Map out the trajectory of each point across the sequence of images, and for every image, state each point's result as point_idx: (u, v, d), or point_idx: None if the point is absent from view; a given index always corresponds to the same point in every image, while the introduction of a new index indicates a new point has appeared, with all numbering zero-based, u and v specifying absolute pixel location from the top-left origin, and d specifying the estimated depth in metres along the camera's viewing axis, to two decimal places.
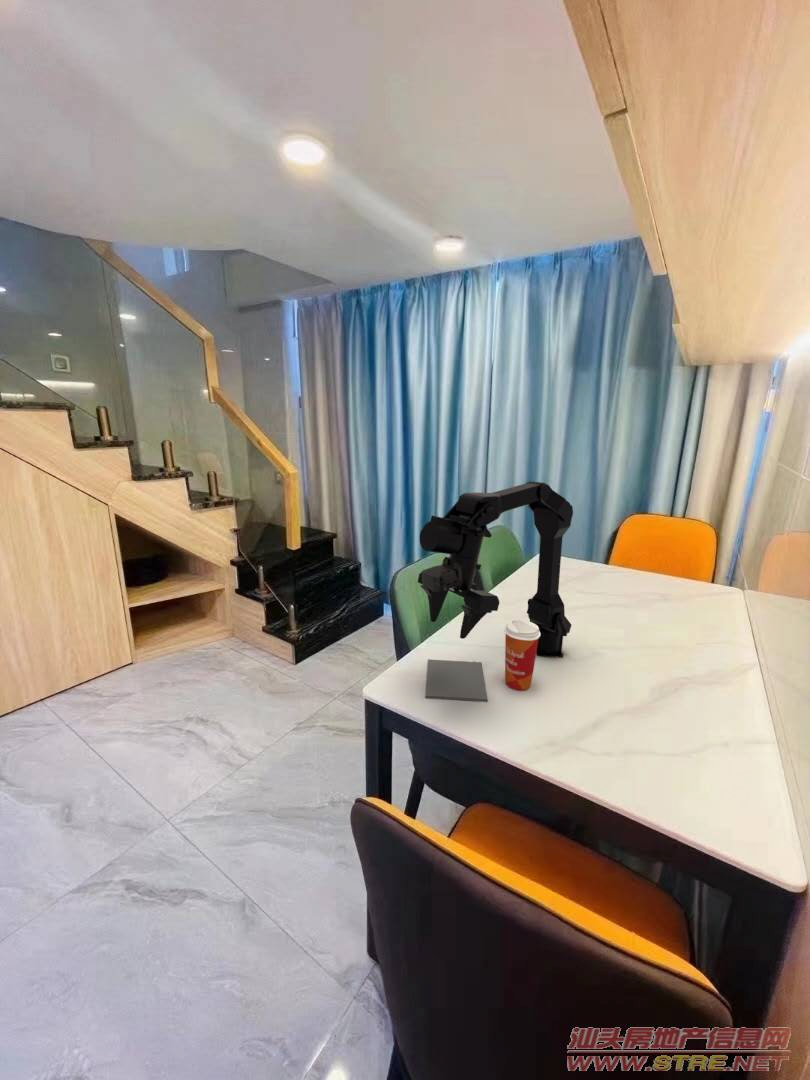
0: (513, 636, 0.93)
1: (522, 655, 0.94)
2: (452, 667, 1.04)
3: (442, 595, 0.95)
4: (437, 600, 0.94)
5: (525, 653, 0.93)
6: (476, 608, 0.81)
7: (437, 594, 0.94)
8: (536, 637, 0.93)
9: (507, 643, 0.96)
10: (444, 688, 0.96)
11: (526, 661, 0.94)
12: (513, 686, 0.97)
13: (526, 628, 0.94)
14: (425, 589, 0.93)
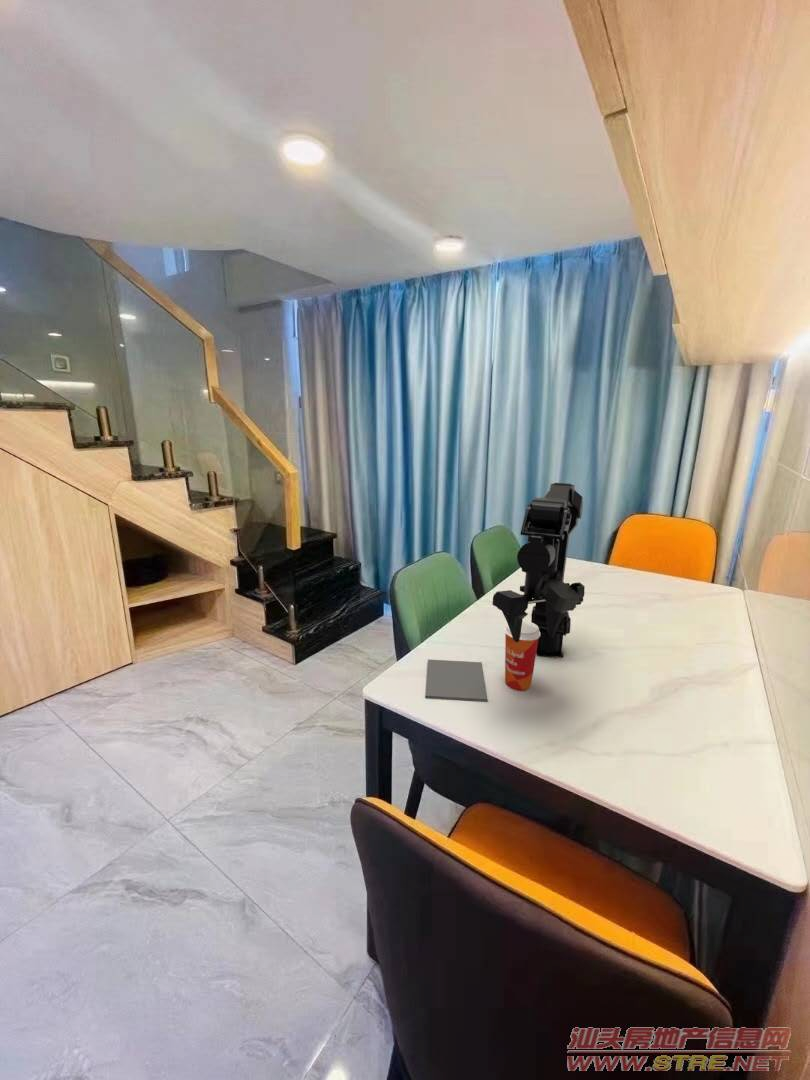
0: None
1: (522, 655, 0.94)
2: (452, 667, 1.04)
3: None
4: None
5: (525, 653, 0.93)
6: None
7: None
8: (536, 637, 0.93)
9: (507, 643, 0.96)
10: (444, 688, 0.96)
11: (526, 661, 0.94)
12: (513, 686, 0.97)
13: (526, 628, 0.94)
14: (522, 615, 0.83)
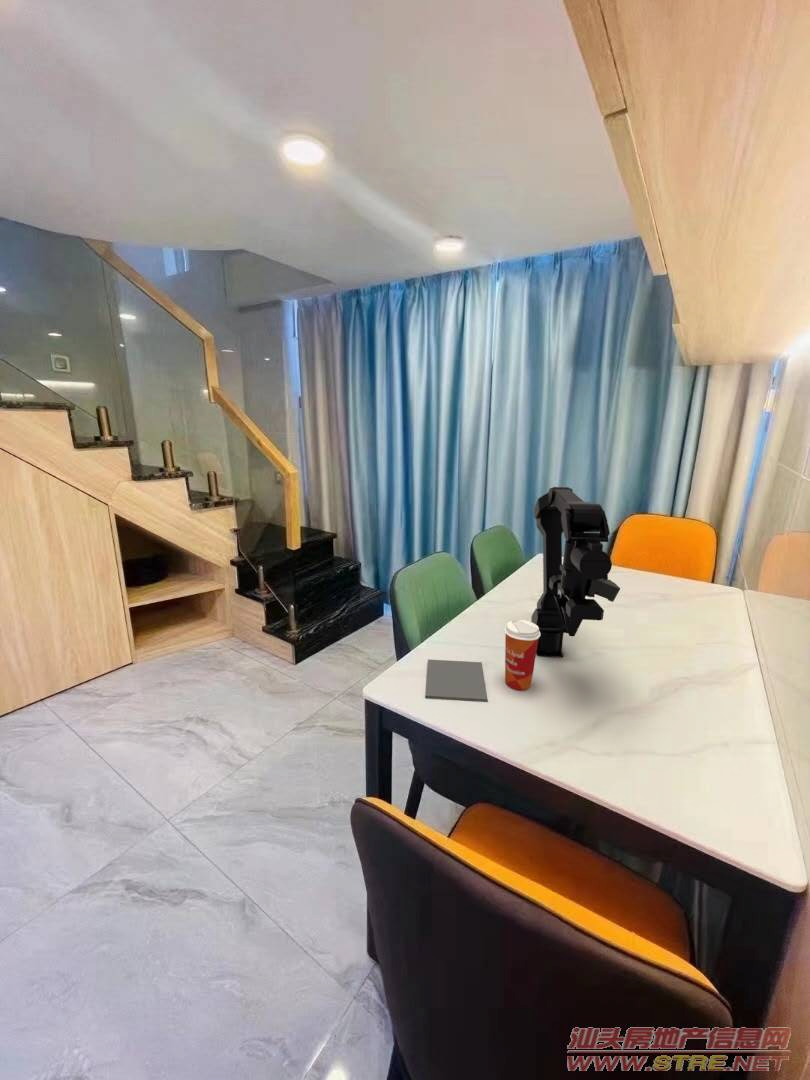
0: (513, 636, 0.93)
1: (522, 655, 0.94)
2: (452, 667, 1.04)
3: None
4: None
5: (525, 653, 0.93)
6: None
7: None
8: (536, 637, 0.93)
9: (507, 643, 0.96)
10: (444, 688, 0.96)
11: (526, 661, 0.94)
12: (513, 686, 0.97)
13: (526, 628, 0.94)
14: None
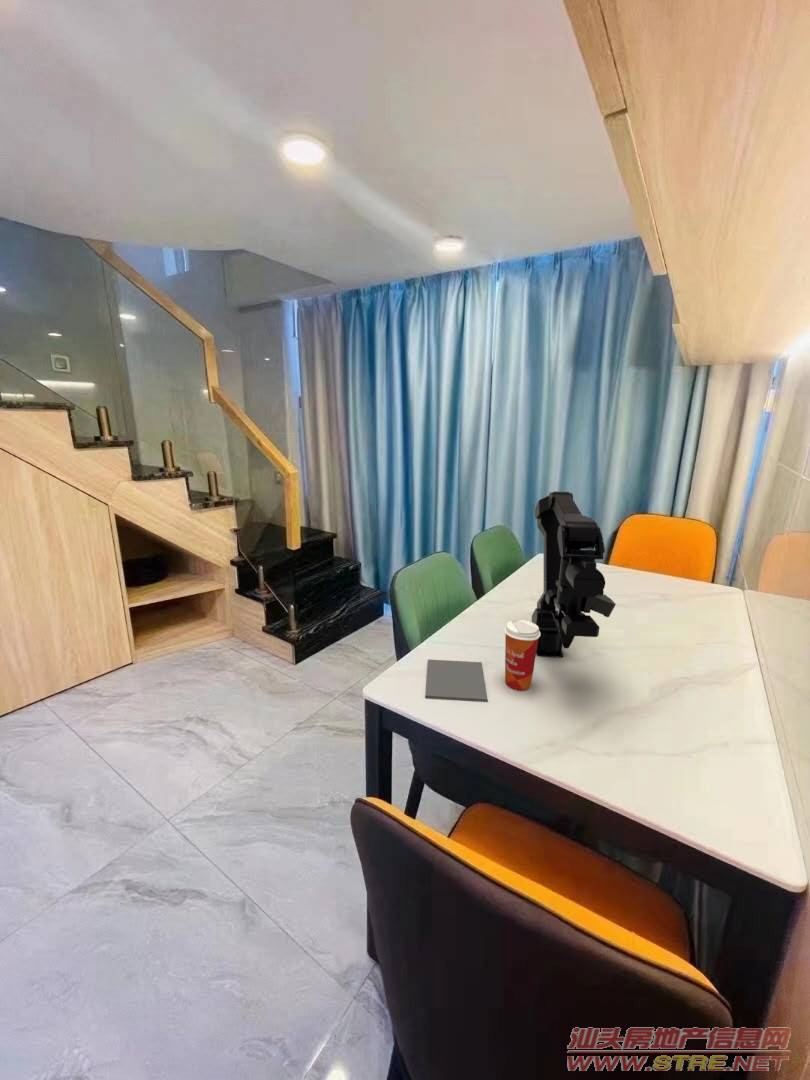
0: (513, 636, 0.93)
1: (522, 655, 0.94)
2: (452, 667, 1.04)
3: None
4: None
5: (525, 653, 0.93)
6: None
7: None
8: (536, 637, 0.93)
9: (507, 643, 0.96)
10: (444, 688, 0.96)
11: (526, 661, 0.94)
12: (513, 686, 0.97)
13: (526, 628, 0.94)
14: None
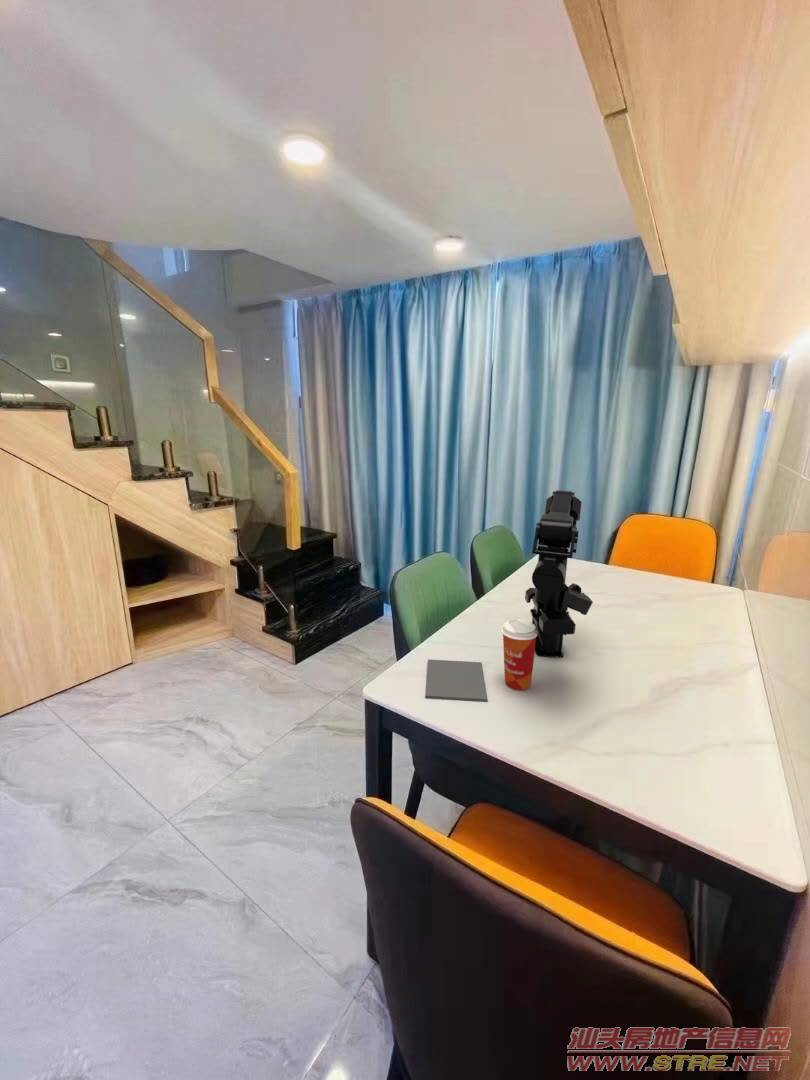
0: (510, 636, 0.93)
1: (520, 655, 0.94)
2: (452, 667, 1.04)
3: None
4: None
5: (522, 652, 0.93)
6: None
7: None
8: (533, 636, 0.93)
9: (505, 643, 0.96)
10: (444, 688, 0.96)
11: (524, 660, 0.94)
12: (513, 686, 0.97)
13: (523, 628, 0.94)
14: None
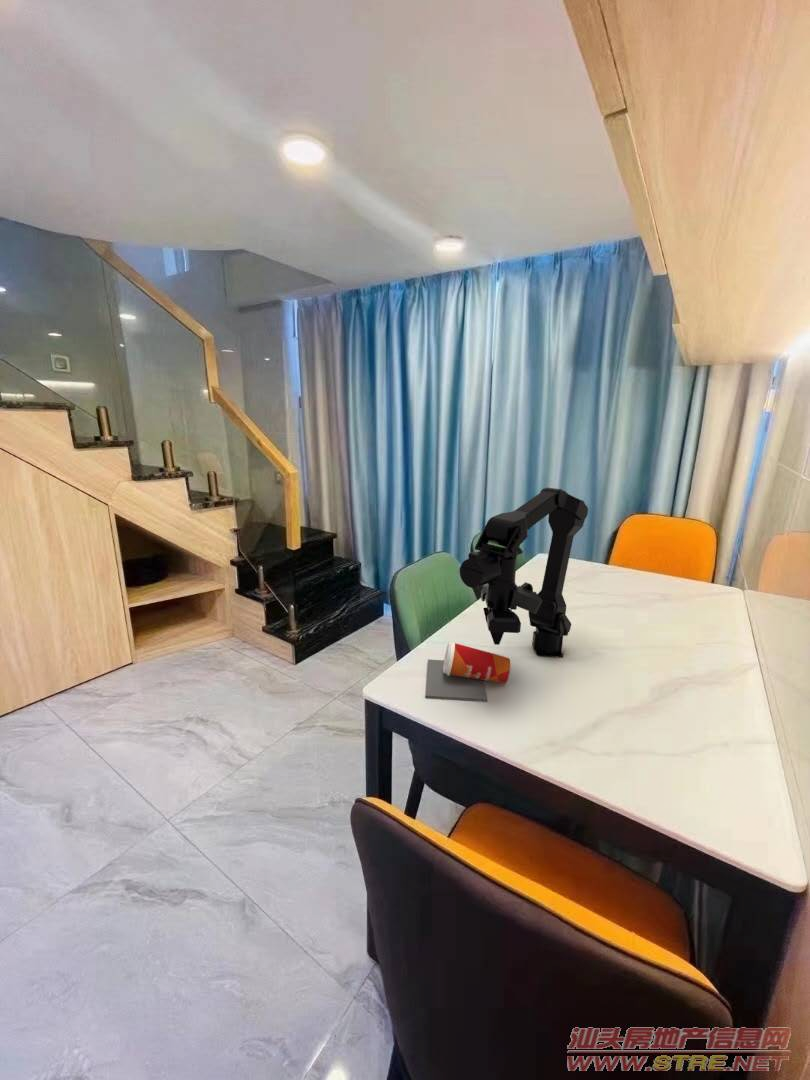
0: (449, 671, 0.97)
1: (469, 666, 0.96)
2: None
3: None
4: None
5: (467, 663, 0.96)
6: None
7: None
8: (453, 649, 0.97)
9: None
10: (444, 688, 0.96)
11: (476, 663, 0.96)
12: (504, 678, 0.97)
13: (446, 655, 0.99)
14: None
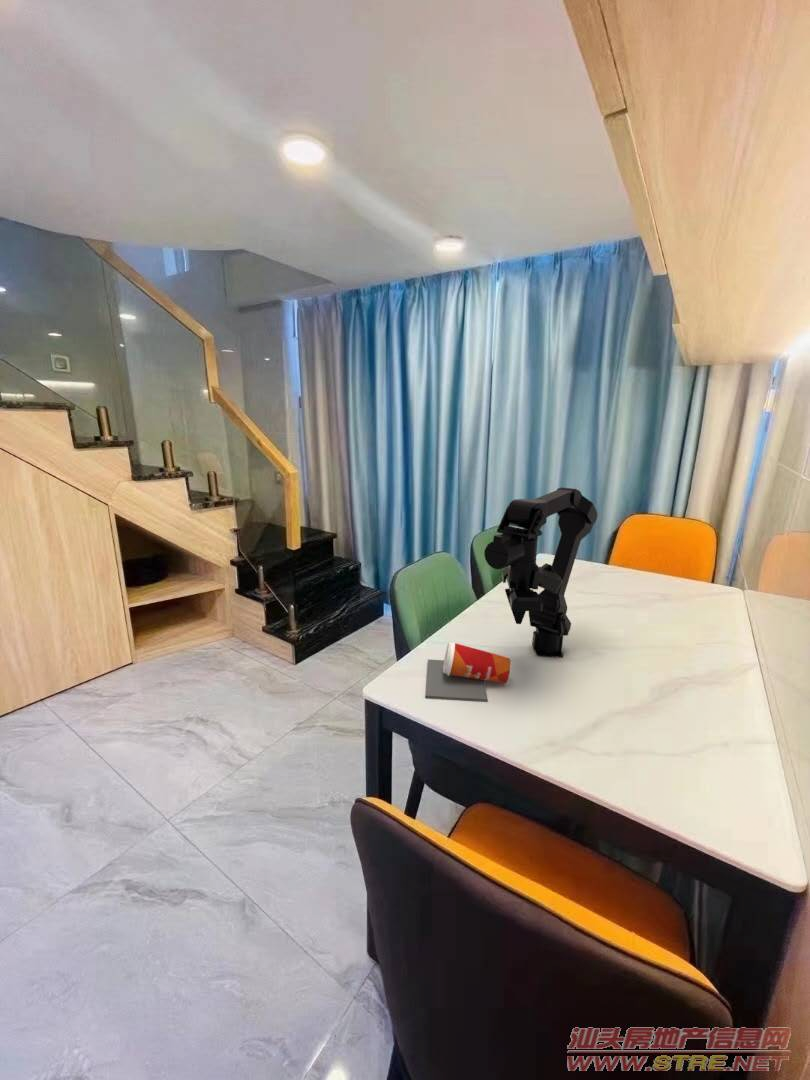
0: (449, 671, 0.97)
1: (469, 666, 0.96)
2: None
3: None
4: None
5: (467, 663, 0.96)
6: None
7: None
8: (453, 649, 0.97)
9: None
10: (444, 688, 0.96)
11: (476, 663, 0.96)
12: (504, 678, 0.97)
13: (446, 655, 0.99)
14: None
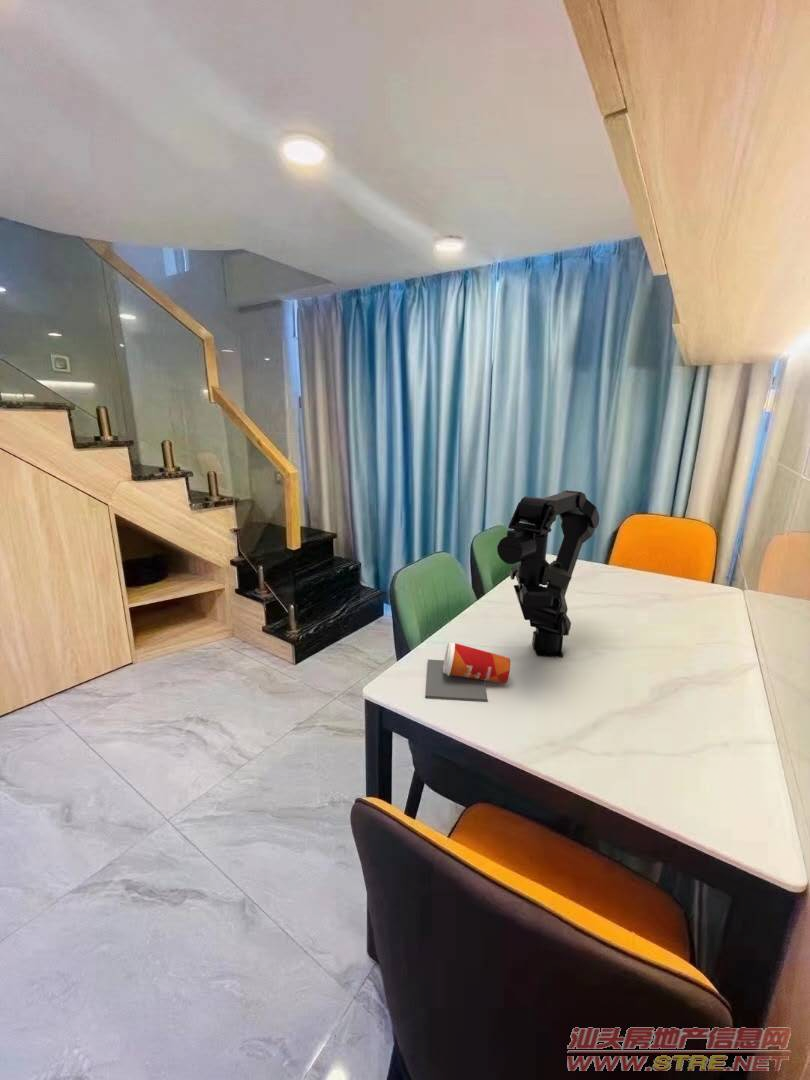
0: (449, 671, 0.97)
1: (469, 666, 0.96)
2: None
3: None
4: None
5: (467, 663, 0.96)
6: None
7: None
8: (453, 649, 0.97)
9: None
10: (444, 688, 0.96)
11: (476, 663, 0.96)
12: (504, 678, 0.97)
13: (446, 655, 0.99)
14: None
